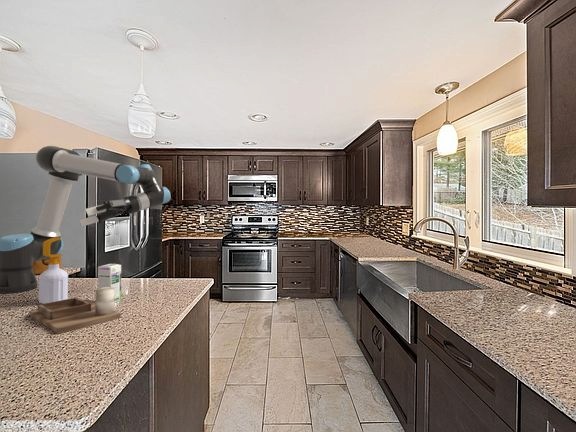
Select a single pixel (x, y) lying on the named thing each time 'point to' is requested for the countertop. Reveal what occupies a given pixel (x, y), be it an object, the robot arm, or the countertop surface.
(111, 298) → the caddy
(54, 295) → the soap bottle
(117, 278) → the syrup box
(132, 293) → the countertop surface
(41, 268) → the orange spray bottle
